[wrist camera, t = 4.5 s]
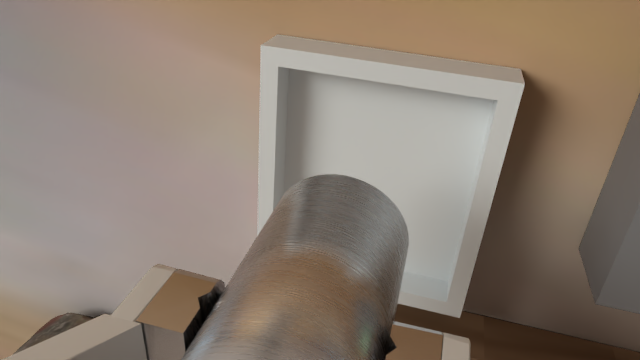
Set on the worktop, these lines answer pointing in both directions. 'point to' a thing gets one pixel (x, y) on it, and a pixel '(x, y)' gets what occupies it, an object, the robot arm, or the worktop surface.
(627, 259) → the grey square holed block
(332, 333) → the cylinder
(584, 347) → the wooden holder frame
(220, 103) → the worktop surface
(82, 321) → the brown rounded piece
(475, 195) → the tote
